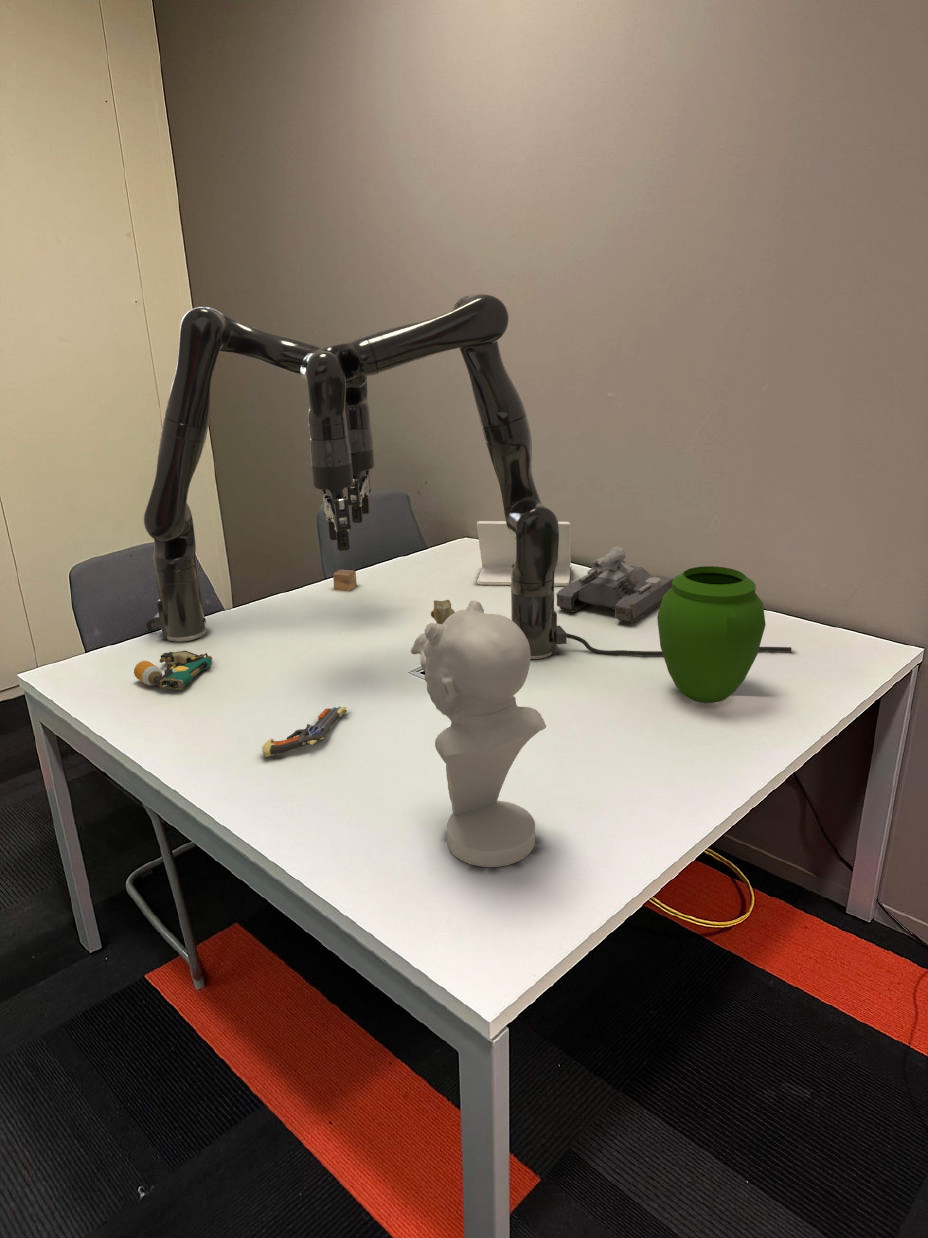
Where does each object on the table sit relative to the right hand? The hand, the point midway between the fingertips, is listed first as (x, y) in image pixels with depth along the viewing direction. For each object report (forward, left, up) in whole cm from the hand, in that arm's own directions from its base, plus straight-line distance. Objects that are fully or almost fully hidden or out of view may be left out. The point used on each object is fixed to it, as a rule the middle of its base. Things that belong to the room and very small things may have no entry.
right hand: (339, 544), depth 166 cm
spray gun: (+36, -11, -29) cm, 47 cm away
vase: (-66, +25, -29) cm, 77 cm away
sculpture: (-20, +1, -29) cm, 35 cm away
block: (-3, -61, -29) cm, 68 cm away
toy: (-69, -28, -29) cm, 80 cm away
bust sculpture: (-13, +59, -29) cm, 67 cm away
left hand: (-7, -33, -3) cm, 34 cm away
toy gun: (+10, +22, -29) cm, 38 cm away
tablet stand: (-53, -58, -29) cm, 84 cm away
